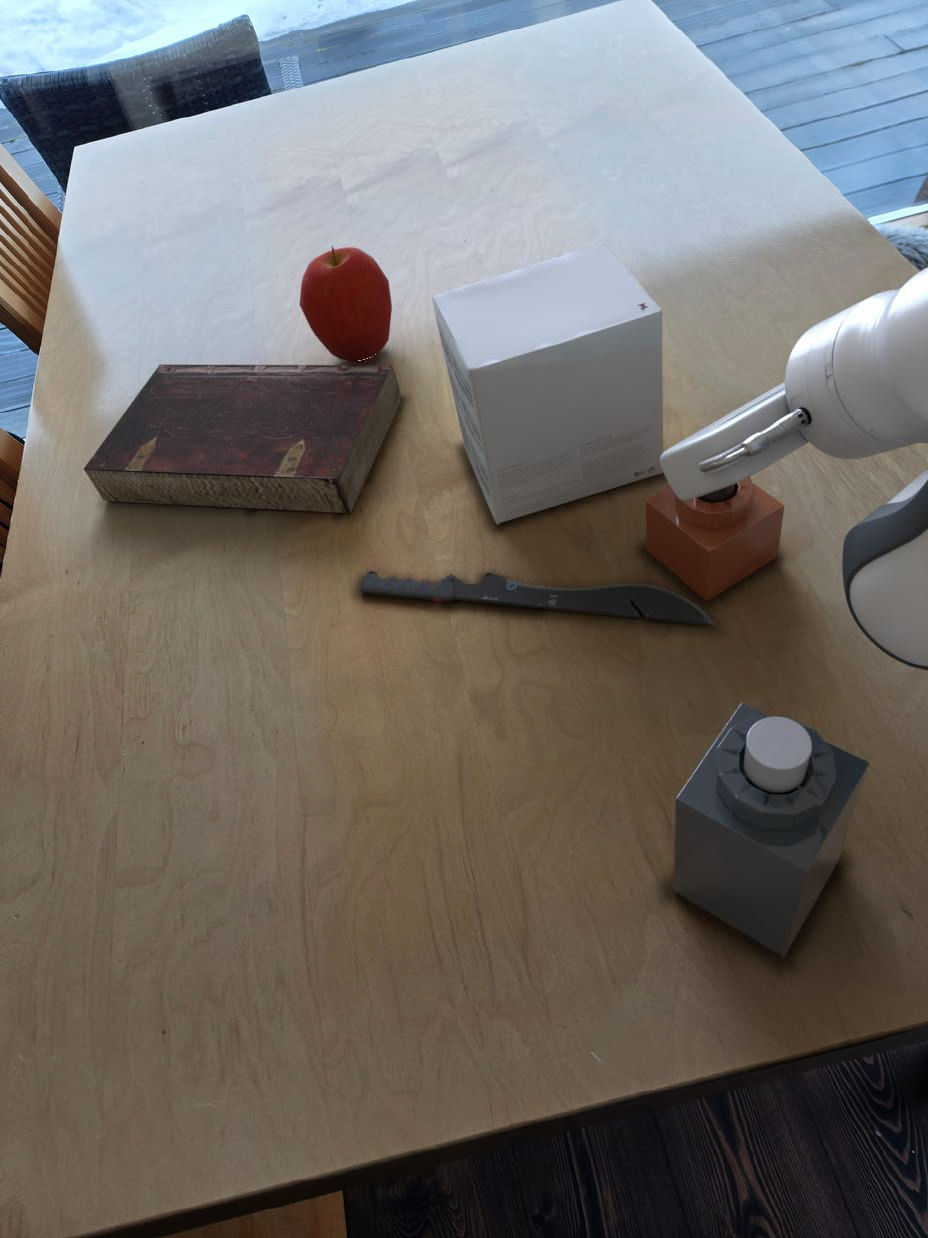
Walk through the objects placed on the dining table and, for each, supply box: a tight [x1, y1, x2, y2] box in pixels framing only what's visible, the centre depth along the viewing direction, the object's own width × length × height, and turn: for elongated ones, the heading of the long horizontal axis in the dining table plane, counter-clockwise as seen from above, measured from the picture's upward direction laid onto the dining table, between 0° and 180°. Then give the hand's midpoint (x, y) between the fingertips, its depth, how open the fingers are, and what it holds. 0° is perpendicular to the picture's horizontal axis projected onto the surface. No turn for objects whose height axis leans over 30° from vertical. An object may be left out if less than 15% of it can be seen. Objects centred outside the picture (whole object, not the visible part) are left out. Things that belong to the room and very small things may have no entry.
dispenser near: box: [673, 701, 871, 958], centre depth 58 cm, size 8×8×15 cm
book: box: [83, 364, 402, 514], centre depth 101 cm, size 29×19×5 cm, turn 77°
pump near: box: [744, 716, 812, 793], centre depth 51 cm, size 3×3×3 cm
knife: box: [359, 570, 716, 626], centre depth 82 cm, size 32×4×1 cm, turn 75°
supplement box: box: [432, 241, 664, 526], centre depth 87 cm, size 17×13×18 cm
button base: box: [645, 476, 785, 602], centre depth 80 cm, size 8×8×8 cm
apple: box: [299, 245, 393, 364], centre depth 106 cm, size 10×10×14 cm
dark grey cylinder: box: [698, 484, 735, 503], centre depth 76 cm, size 3×3×2 cm
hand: (738, 430), depth 70 cm, fingers closed
